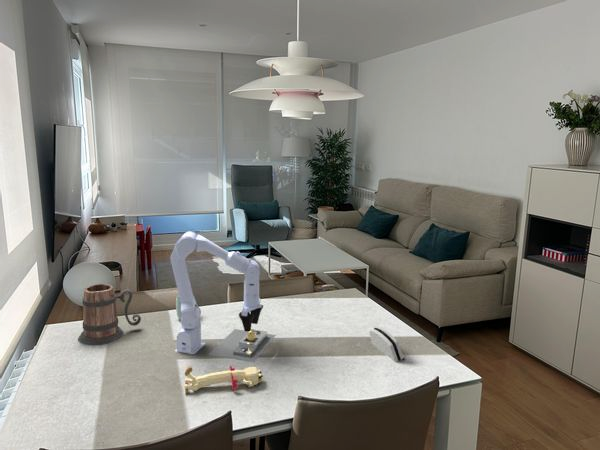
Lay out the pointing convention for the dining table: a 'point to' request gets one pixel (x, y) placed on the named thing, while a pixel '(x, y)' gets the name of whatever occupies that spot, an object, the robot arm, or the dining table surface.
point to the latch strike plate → (250, 344)
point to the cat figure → (223, 378)
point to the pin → (251, 336)
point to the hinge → (386, 343)
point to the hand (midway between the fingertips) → (251, 327)
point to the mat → (232, 343)
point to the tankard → (103, 315)
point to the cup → (178, 307)
